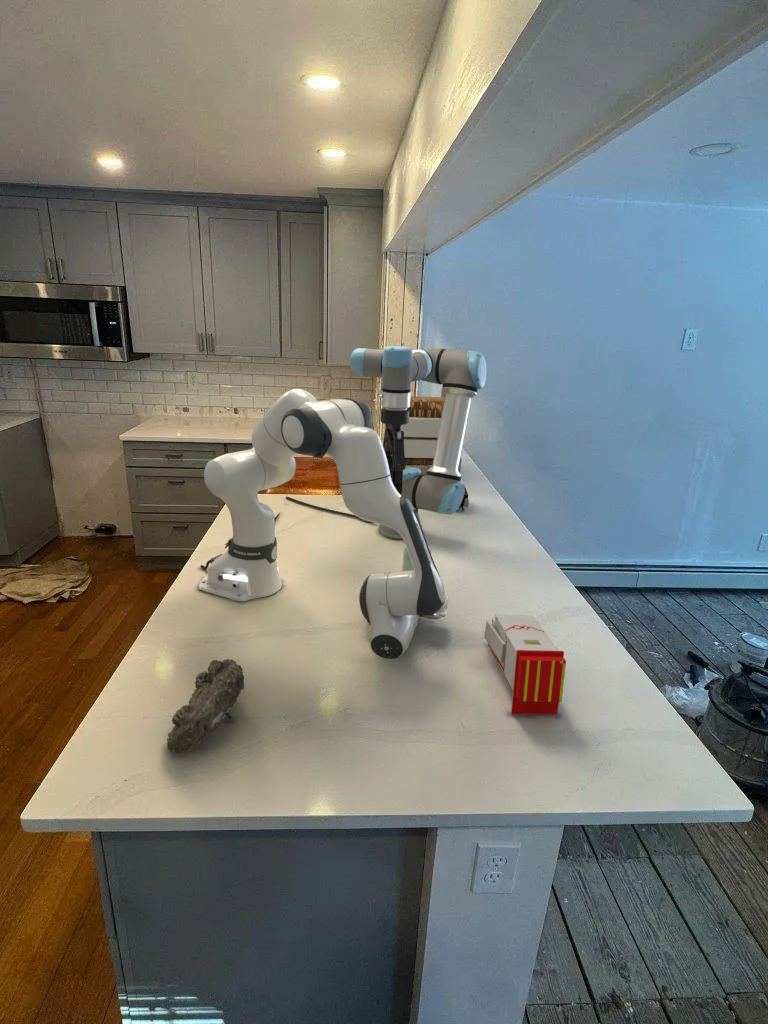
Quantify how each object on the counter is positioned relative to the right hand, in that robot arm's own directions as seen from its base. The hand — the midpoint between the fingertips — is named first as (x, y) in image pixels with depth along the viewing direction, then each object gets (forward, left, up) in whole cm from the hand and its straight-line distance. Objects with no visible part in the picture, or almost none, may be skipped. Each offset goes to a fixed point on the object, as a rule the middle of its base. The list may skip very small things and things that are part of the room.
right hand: (391, 485), depth 155 cm
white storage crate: (-78, +88, -29) cm, 121 cm away
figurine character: (-33, +67, -29) cm, 80 cm away
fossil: (+24, -65, -29) cm, 75 cm away
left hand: (+16, -6, -22) cm, 28 cm away
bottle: (+17, -6, -29) cm, 34 cm away
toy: (+51, -6, -29) cm, 59 cm away
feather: (-64, +2, -29) cm, 70 cm away
